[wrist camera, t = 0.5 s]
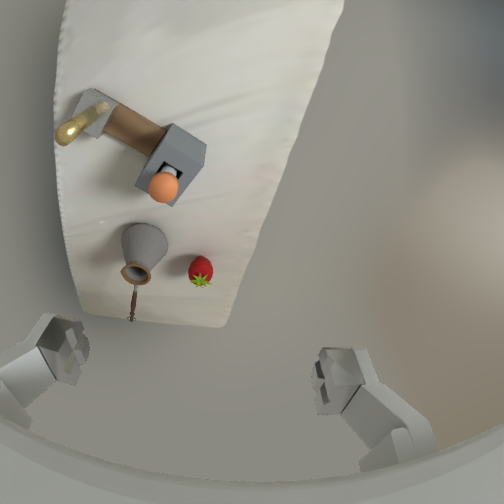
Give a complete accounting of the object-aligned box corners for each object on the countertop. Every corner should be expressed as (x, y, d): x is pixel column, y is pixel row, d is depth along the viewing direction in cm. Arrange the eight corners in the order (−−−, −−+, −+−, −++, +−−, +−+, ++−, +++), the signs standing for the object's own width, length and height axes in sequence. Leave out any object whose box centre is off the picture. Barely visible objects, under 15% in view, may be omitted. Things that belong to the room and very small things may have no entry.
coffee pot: (126, 212, 62) (108, 257, 50) (173, 223, 65) (165, 270, 54) (120, 274, 74) (108, 318, 63) (159, 283, 78) (153, 327, 67)
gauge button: (169, 145, 48) (157, 172, 40) (189, 158, 51) (182, 186, 43) (156, 164, 51) (143, 193, 43) (176, 176, 53) (167, 207, 45)
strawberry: (216, 247, 71) (216, 277, 64) (209, 269, 76) (209, 298, 68) (192, 243, 70) (189, 273, 62) (187, 265, 74) (184, 295, 67)
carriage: (90, 87, 40) (54, 107, 30) (119, 103, 43) (89, 127, 33) (75, 118, 43) (39, 145, 33) (103, 133, 47) (72, 164, 36)
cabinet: (172, 123, 49) (163, 140, 42) (206, 144, 53) (203, 165, 46) (145, 164, 54) (133, 188, 47) (177, 183, 58) (170, 209, 51)
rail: (94, 88, 42) (91, 90, 41) (166, 130, 50) (164, 132, 49) (81, 114, 45) (78, 116, 43) (150, 153, 53) (148, 156, 52)
